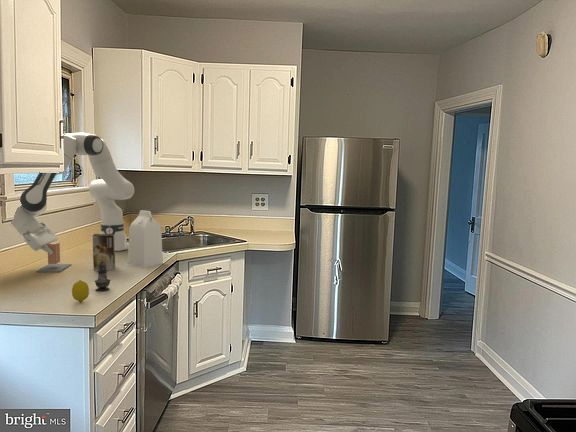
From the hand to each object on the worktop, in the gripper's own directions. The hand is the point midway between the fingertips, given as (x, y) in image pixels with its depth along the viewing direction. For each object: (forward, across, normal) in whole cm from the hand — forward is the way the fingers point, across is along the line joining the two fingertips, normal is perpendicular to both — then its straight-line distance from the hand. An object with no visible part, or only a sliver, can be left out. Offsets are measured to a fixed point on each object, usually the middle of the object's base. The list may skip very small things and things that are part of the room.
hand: (55, 252), depth 209 cm
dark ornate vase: (+27, -35, -16) cm, 47 cm away
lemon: (+25, -51, -14) cm, 58 cm away
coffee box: (+21, 0, -10) cm, 23 cm away
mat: (+5, 0, +6) cm, 8 cm away
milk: (+32, +12, -21) cm, 40 cm away
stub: (+3, 0, +4) cm, 5 cm away
